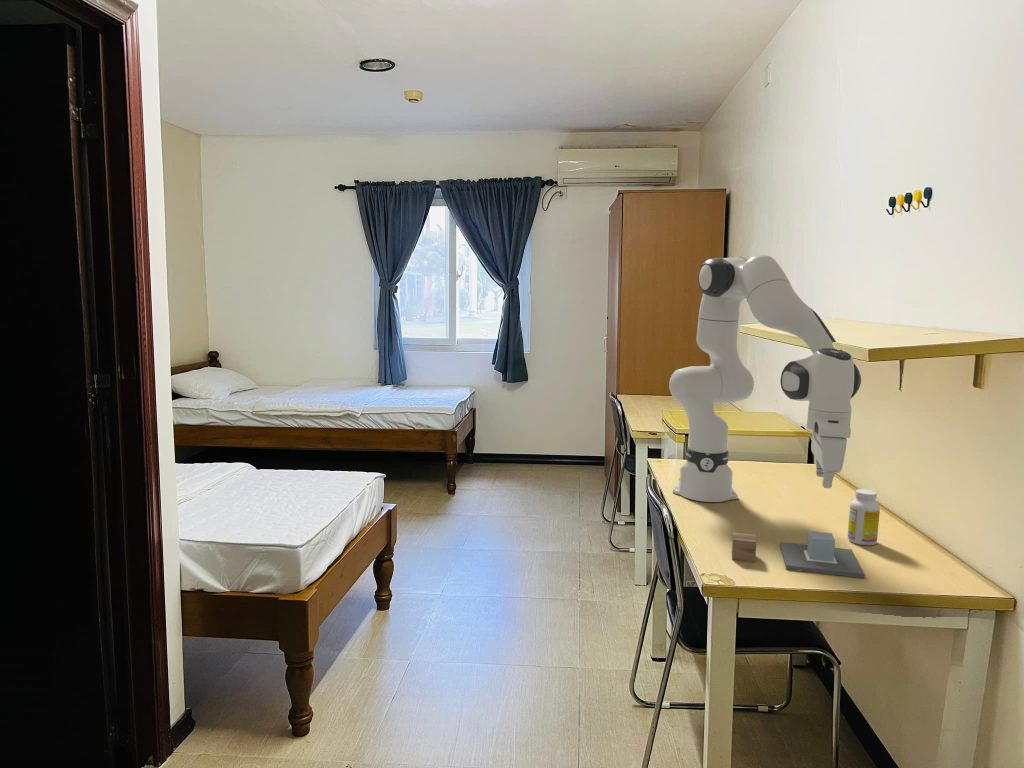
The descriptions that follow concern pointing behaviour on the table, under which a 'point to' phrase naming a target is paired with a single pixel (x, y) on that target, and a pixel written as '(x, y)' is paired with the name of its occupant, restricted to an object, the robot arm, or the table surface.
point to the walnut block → (743, 547)
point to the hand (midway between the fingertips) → (823, 481)
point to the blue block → (821, 546)
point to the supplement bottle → (864, 518)
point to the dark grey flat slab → (841, 565)
